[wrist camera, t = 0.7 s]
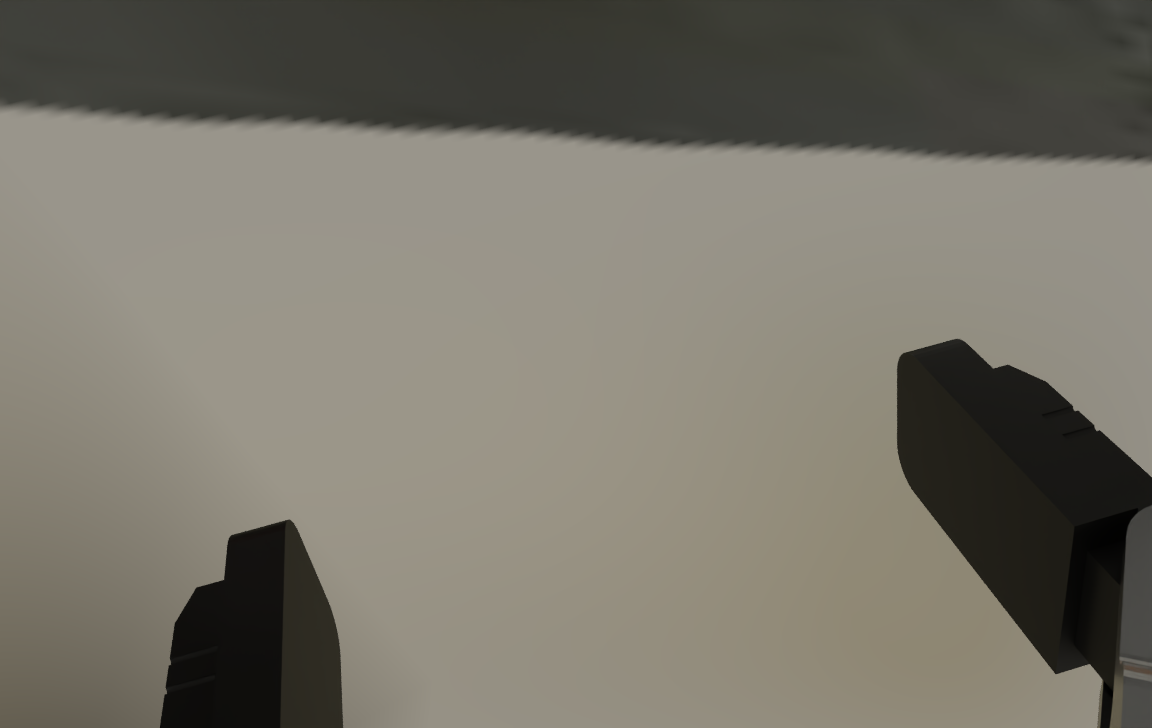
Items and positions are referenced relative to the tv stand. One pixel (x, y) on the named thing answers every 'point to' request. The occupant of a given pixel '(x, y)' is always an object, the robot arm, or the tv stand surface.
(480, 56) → the tv stand surface
